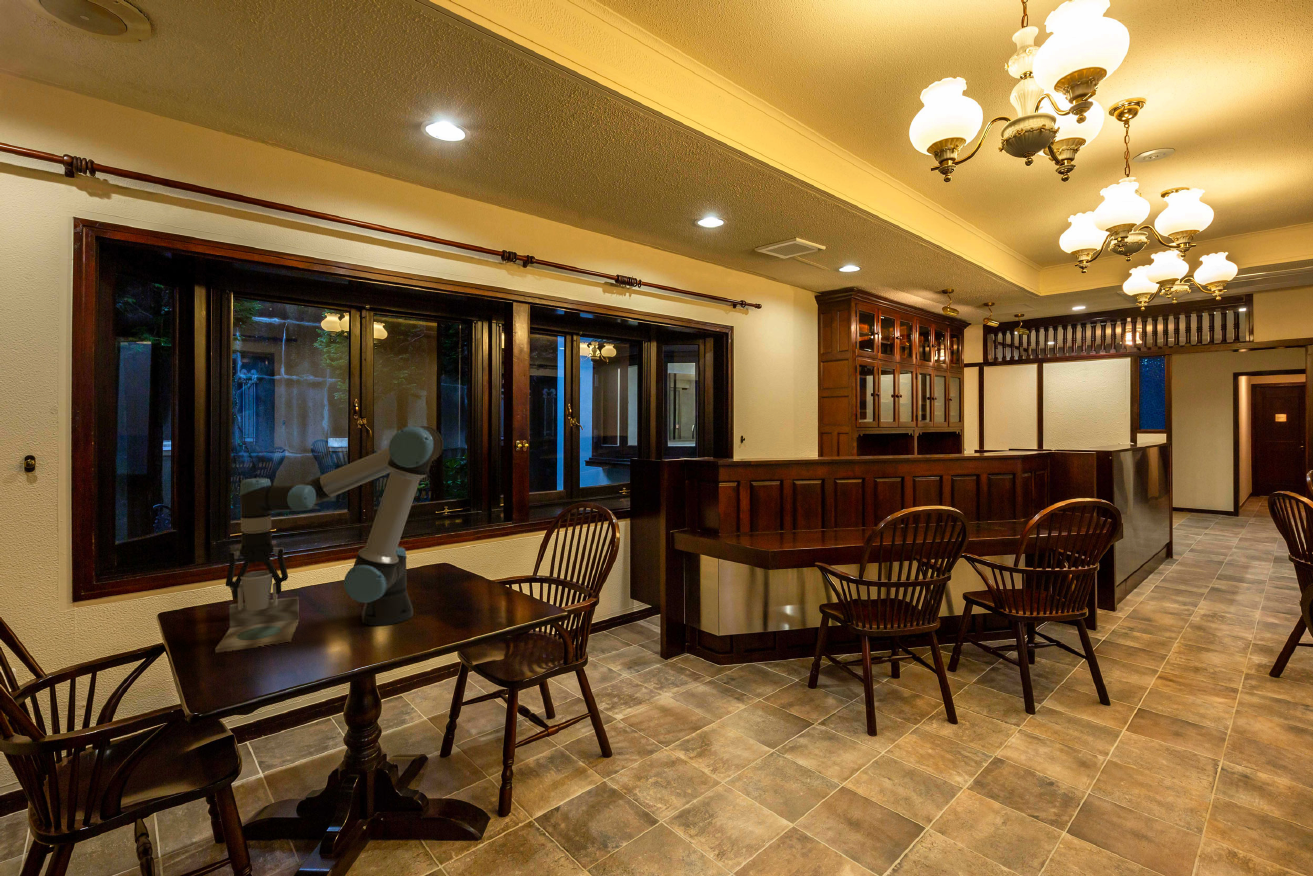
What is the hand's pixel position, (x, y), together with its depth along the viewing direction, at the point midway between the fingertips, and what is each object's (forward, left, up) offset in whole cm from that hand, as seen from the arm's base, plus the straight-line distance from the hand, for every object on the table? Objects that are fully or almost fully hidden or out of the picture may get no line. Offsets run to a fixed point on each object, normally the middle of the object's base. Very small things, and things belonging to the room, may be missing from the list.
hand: (258, 606), depth 179 cm
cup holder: (0, 0, -9) cm, 9 cm away
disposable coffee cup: (+7, -24, -9) cm, 27 cm away
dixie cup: (0, 0, 0) cm, 0 cm away
